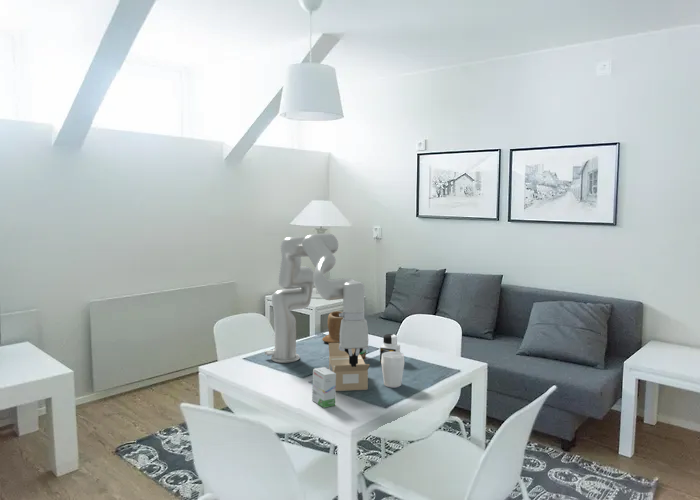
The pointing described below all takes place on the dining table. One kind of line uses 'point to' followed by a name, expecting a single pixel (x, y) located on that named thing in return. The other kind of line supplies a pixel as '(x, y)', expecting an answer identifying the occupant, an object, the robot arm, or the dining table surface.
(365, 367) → the near flap
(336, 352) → the far flap
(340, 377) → the carton
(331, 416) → the dining table surface
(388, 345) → the medicine bottle
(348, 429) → the dining table surface
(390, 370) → the cup
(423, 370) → the dining table surface
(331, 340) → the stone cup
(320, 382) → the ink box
